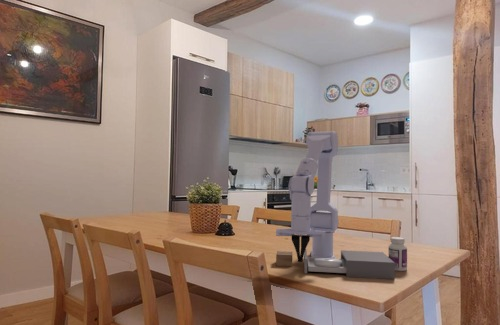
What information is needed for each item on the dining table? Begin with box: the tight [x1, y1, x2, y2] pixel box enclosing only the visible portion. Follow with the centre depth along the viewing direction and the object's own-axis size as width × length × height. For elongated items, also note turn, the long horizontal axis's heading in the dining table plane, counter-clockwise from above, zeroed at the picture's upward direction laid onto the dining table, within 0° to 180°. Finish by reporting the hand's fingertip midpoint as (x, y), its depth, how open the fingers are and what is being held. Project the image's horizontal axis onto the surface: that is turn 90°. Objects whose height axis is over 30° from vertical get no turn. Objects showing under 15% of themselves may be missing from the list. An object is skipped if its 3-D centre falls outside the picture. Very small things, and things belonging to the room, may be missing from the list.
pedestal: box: [275, 250, 293, 267], centre depth 117 cm, size 5×5×4 cm
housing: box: [340, 249, 396, 280], centre depth 110 cm, size 14×13×5 cm
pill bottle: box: [388, 236, 408, 272], centre depth 114 cm, size 5×5×10 cm
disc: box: [314, 258, 342, 267], centre depth 109 cm, size 8×8×2 cm
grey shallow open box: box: [303, 248, 347, 275], centre depth 112 cm, size 14×13×4 cm
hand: (300, 261), depth 110 cm, fingers closed
